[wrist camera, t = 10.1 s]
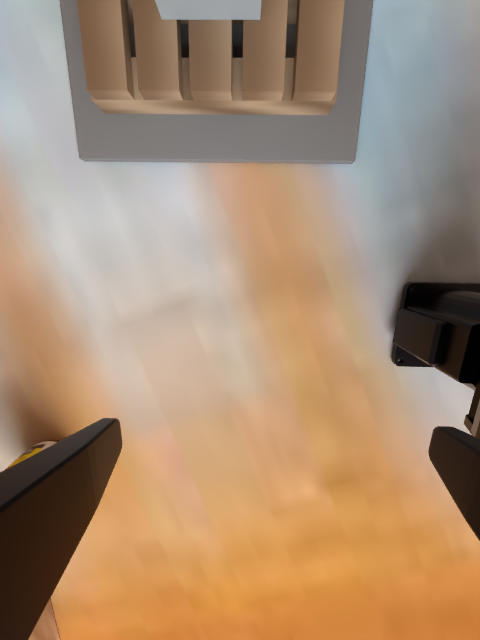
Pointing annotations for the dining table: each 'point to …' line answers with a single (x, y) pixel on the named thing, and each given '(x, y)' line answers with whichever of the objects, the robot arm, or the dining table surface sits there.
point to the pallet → (211, 60)
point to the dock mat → (221, 129)
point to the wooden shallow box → (46, 626)
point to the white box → (209, 9)
